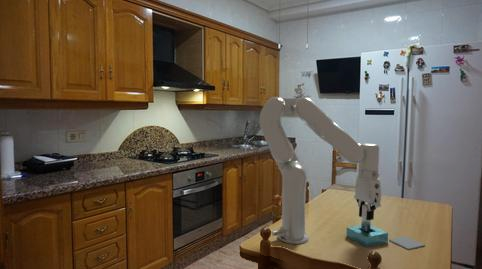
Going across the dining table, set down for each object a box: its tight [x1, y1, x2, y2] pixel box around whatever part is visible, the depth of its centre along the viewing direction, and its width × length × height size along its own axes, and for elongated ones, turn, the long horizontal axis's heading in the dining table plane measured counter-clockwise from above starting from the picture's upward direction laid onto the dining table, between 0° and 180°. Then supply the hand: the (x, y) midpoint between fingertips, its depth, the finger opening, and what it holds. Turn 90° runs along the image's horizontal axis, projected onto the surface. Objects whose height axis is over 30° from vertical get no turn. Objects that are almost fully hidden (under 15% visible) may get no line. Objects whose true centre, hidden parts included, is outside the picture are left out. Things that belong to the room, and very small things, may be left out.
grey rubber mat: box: [388, 235, 426, 251], centre depth 124 cm, size 9×9×1 cm
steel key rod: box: [360, 203, 372, 231], centre depth 127 cm, size 4×4×10 cm
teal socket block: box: [345, 224, 389, 248], centre depth 127 cm, size 11×11×4 cm
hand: (366, 217), depth 127 cm, fingers closed on steel key rod, 3 cm apart
